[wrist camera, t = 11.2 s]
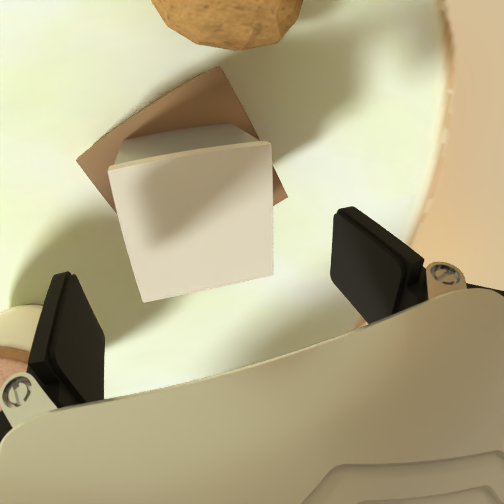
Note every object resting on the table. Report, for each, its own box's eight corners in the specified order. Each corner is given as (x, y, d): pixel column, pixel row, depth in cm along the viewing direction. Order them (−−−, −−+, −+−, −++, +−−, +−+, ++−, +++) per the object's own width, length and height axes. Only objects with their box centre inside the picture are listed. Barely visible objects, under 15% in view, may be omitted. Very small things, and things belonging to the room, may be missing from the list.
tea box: (262, 173, 25) (287, 196, 20) (161, 235, 25) (166, 272, 21) (204, 68, 19) (219, 66, 15) (91, 142, 19) (75, 160, 15)
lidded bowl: (17, 254, 21) (-28, 351, 12) (125, 329, 28) (131, 429, 19) (-25, 331, 22) (-51, 416, 14) (66, 385, 30) (63, 469, 21)
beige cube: (238, 217, 20) (273, 274, 15) (141, 236, 19) (143, 302, 14) (231, 120, 17) (271, 144, 12) (121, 138, 15) (107, 171, 10)
